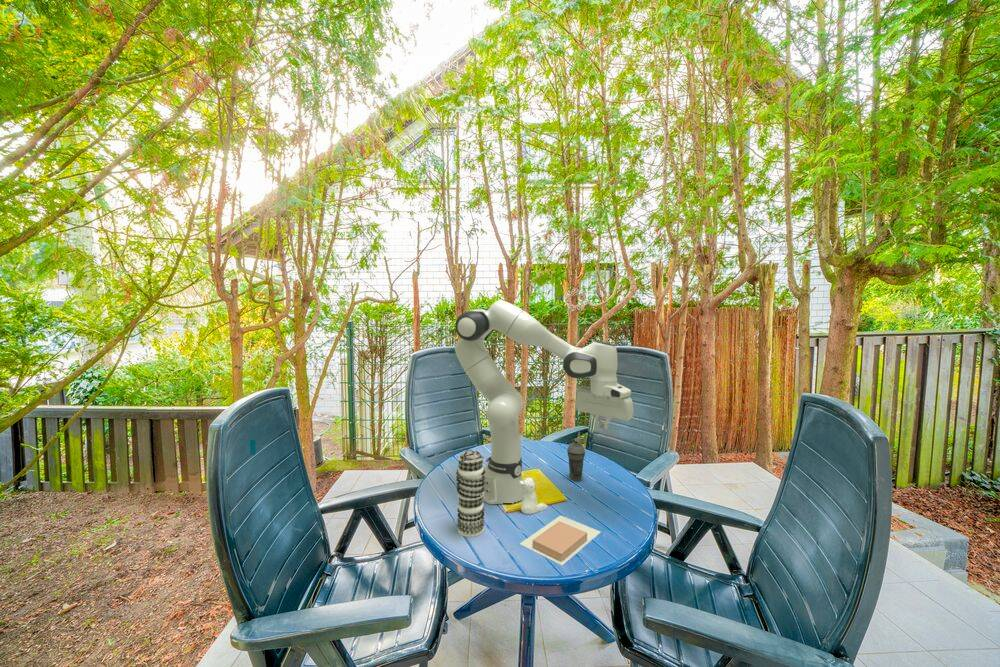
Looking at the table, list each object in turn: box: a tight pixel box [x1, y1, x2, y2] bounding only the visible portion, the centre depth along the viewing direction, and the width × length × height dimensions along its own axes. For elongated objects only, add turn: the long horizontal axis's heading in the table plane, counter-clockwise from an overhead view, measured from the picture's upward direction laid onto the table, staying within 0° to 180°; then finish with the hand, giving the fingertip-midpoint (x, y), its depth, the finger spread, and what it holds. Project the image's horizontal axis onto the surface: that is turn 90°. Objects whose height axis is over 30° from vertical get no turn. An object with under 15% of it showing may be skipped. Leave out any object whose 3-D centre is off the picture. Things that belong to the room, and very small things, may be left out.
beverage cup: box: [566, 431, 586, 482], centre depth 166 cm, size 7×7×20 cm
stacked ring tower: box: [455, 449, 485, 538], centre depth 128 cm, size 9×9×25 cm
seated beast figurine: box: [519, 477, 548, 515], centre depth 140 cm, size 10×9×12 cm
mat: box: [519, 515, 602, 566], centre depth 123 cm, size 15×22×1 cm
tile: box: [533, 521, 587, 561], centre depth 120 cm, size 10×2×14 cm
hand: (602, 428), depth 139 cm, fingers closed
